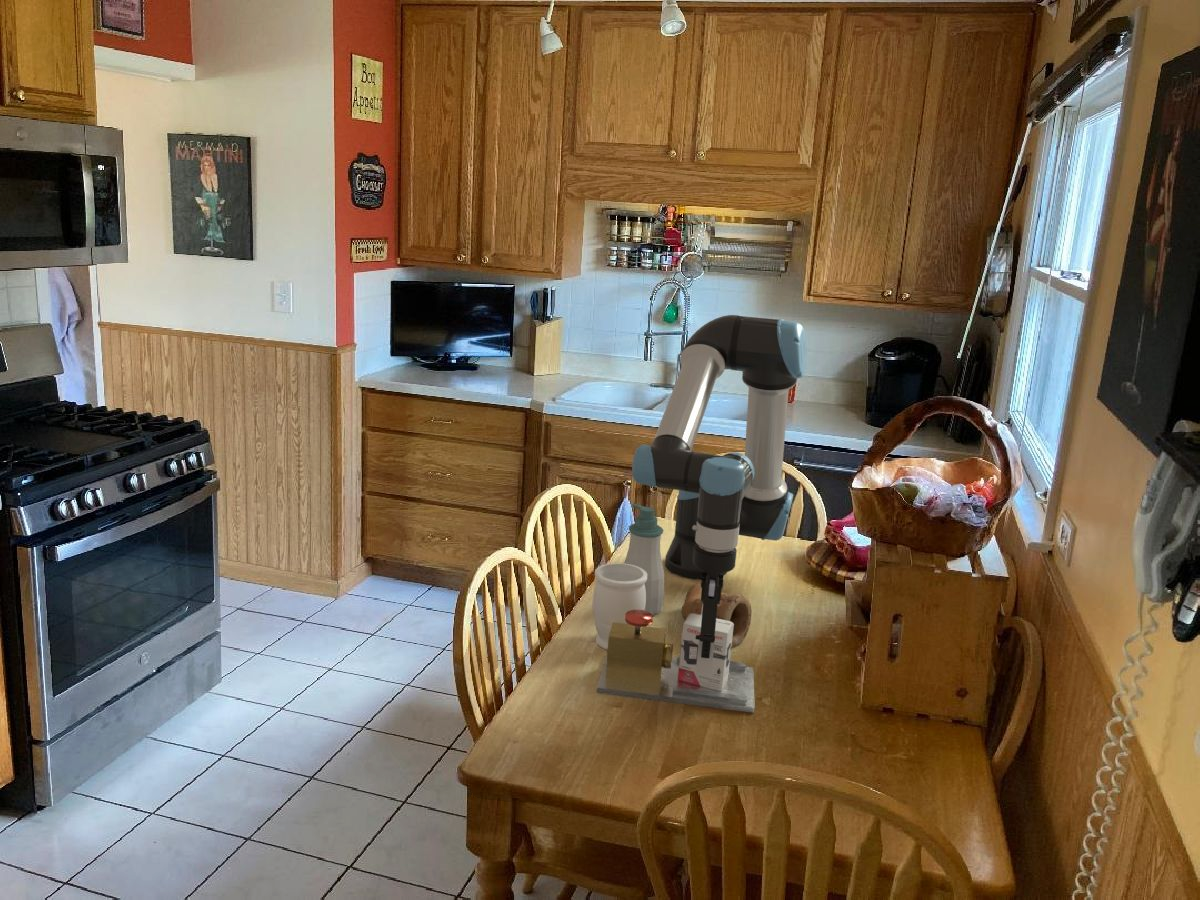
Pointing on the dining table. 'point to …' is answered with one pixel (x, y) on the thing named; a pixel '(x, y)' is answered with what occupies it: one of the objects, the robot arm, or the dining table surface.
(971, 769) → the dining table surface
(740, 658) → the dining table surface
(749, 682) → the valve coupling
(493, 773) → the dining table surface
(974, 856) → the dining table surface
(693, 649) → the ink box
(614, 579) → the jar
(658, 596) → the soap bottle
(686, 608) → the clay pipe
